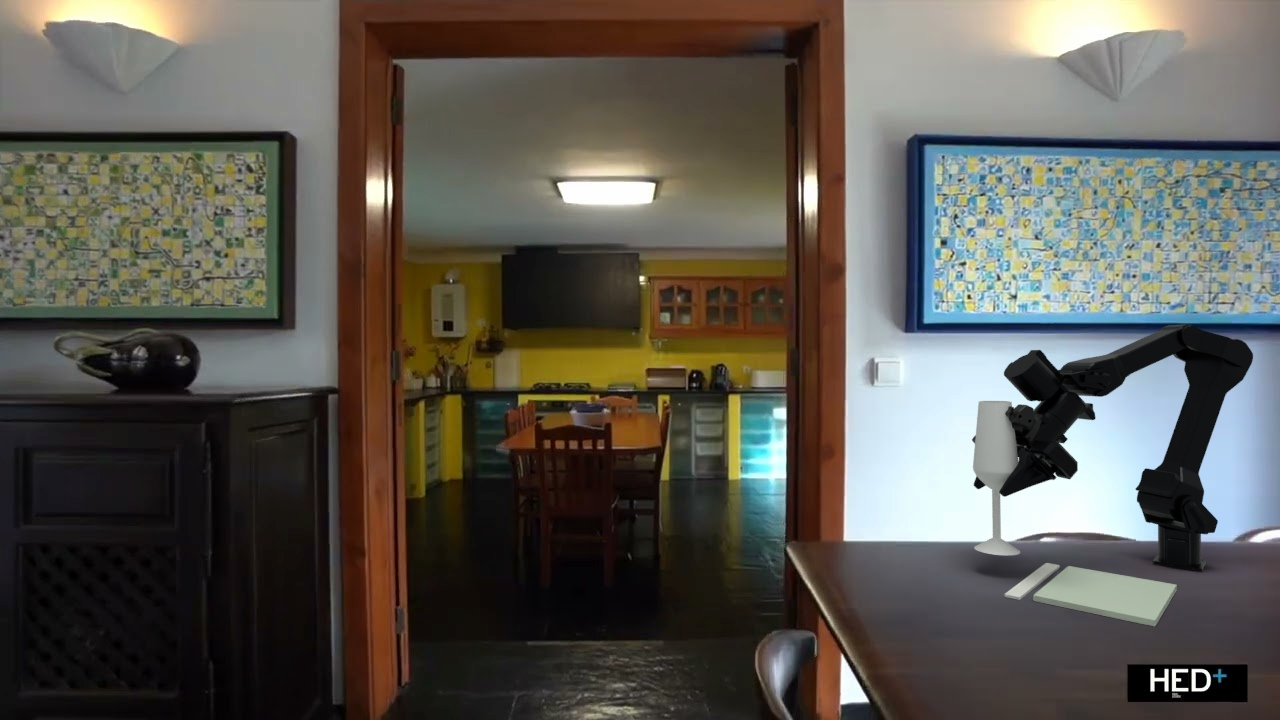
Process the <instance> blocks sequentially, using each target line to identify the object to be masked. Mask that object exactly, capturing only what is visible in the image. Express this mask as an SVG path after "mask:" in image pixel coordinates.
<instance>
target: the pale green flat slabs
mask: <svg viewBox="0 0 1280 720" xmlns="http://www.w3.org/2000/svg"><path fill="white" fill-rule="evenodd" d="M1060 567H1061V566H1060V564H1055V563H1049V562H1046V563H1044V564H1042V565H1041V566H1040V567H1039V568H1037V569H1036V570H1034V571H1033V572H1032V573H1031V574H1029V575H1028V576H1026V577H1025V578H1024V579H1022V580H1021V581H1020V582H1019V583H1017V584H1016V585H1015V586H1013V587H1012V588H1010V589H1009V590H1008V591H1007V592H1004V596H1003V597H1005V598H1007V599H1014V600H1018V601H1021V600H1022V599H1023V598H1024V597H1025V596H1027V595H1028V594H1029V593H1030V592H1032V591H1033V590H1034V589H1035V588H1037V587H1038V586H1039V585H1040V584H1042V583H1043V582H1044V581H1045V580H1046V579H1048V578H1049V577H1050V576H1052V575H1053V574H1054V573H1055V572H1056V571H1058V570H1059V569H1060ZM1177 588H1178V585H1177V584H1174V583H1169V582H1163V581H1157V580H1153V579H1146V578H1141V577H1140V578H1139V577H1135V576H1130V575H1129V576H1128V575H1123V574H1117V573H1113V572H1112V573H1111V572H1105V571H1099V570H1094V569H1088V568H1085V567H1084V568H1083V567H1076V566H1072V565H1068V566H1066V567H1065V568H1064V569H1063V570H1062V571H1060V572H1059V573H1058V574H1057V575H1056V576H1054V577H1053V578H1052V579H1051V580H1049V582H1047V583H1046V584H1045V585H1044V586H1042V587H1041V588H1040V589H1039V590H1038V591H1036V592H1035V593H1034V594H1033V602H1037V603H1042V604H1047V605H1051V606H1056V607H1060V608H1065V609H1071V610H1073V611H1074V610H1075V611H1080V612H1084V613H1089V614H1095V615H1098V616H1104V617H1108V618H1112V619H1117V620H1121V621H1122V620H1123V621H1127V622H1131V623H1136V624H1140V625H1146V626H1150V627H1154V628H1155V627H1156V626H1157V624H1158V623H1159V621H1160V619H1161V618H1162V616H1163V614H1164V613H1165V610H1166V609H1167V607H1168V606H1169V604H1170V602H1171V600H1172V599H1173V597H1174V596H1175V594H1176V592H1177V591H1178V589H1177Z"/></svg>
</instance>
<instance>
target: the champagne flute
mask: <svg viewBox="0 0 1280 720" xmlns="http://www.w3.org/2000/svg"><path fill="white" fill-rule="evenodd" d="M1009 406H1010V407H1013V404H1012V401H1009V400H1008V401H1007V400H979V401H978V405H977V417H976V428H975V435H976V438H975V443H974V451H973V460H972V461H973V462H972V463H973V464H972V469H973V472H974V474H975V476H977V477H978V478H979V479H980V480H981V481H982V482H983V483H984V484H985V485H986V486H985V487H987V488H989V489H991V497H992V498H991V501H992V502H991V506H992V510H991V511H992V518H991V519H992V537H991V538H989V539H987V540H985V541H983V542H981V543H979V544H977V545H975V546H974V550H975V551H978V552H980V553H984V554H989V555H995V556H1017V555H1020V554H1021V551H1020V550H1019V549H1018V548H1016V547H1015V546H1013V545H1011V544H1010V543H1009V542H1007V541H1006V540H1005V539H1003V538H1002V528H1001V522H1002V521H1001V494H1000V493H999V491H1000V489H1001V488H1002V486H1003V484H1004V483H1005V482H1006V480H1007V479H1008V477H1009V476H1010V475H1011V473H1012V472H1013V471H1014V469H1015V468H1016V466H1017V465H1018V463H1019V457H1018V453H1017V445H1016V436H1015V429H1013V428H1012V424H1011V422H1010V420H1009V417H1007V416H1006V415H1005V412H1006V411H1007V410H1008V408H1009Z"/></svg>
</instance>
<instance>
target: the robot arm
mask: <svg viewBox="0 0 1280 720" xmlns="http://www.w3.org/2000/svg"><path fill="white" fill-rule="evenodd" d="M1170 356H1174V358H1176V359H1178V360H1180V361H1182V362H1184V369H1183V371H1184V373H1185V376H1186V379H1187V382H1188V389H1187V392H1186V395H1185V397H1184V399H1183V404H1182V406H1181V409H1180V411H1179V413H1178V414H1179V415H1178V418H1177V421H1176V423H1175V426H1174V429H1173V432H1172V434H1171V438H1170V440H1169V442H1168V446H1167V449H1166V451H1165V454H1164V457H1163V460H1162V462H1161V464H1159V465H1158V466H1157V467H1156V468H1154V469H1152V468H1144V469H1143V471H1142V472H1141V477H1140V481H1139V484H1138V485H1137V487H1136V488H1135V491H1138V492H1137V496H1136V502H1137V503H1138V504H1139V507H1140V510H1141V511H1142V515H1143V518H1144V521H1145V522H1146V523H1149V524H1153V525H1157V555H1156V556H1155V557H1154V558H1153V560H1152V563H1153V564H1155V565H1159V566H1160V565H1161V566H1166V567H1172V568H1178V569H1179V568H1180V569H1185V570H1192V571H1197V572H1203V571H1204V569H1205V566H1206V565H1207V561H1206V560H1204V559H1202V535H1209V534H1214V533H1215V532H1216V529H1217V526H1218V523H1219V521H1218V518H1216V517H1215V516H1214V515H1213V513H1212V512H1211V511H1210V510H1209V509H1208V508H1207V507H1206V506H1205V505H1204V504H1203V501H1204V495H1205V490H1204V486H1203V483H1202V481H1201V477H1200V470H1201V466H1202V464H1203V461H1204V458H1205V456H1206V452H1207V449H1208V446H1209V443H1210V442H1211V441H1210V440H1211V438H1212V435H1213V432H1214V430H1215V426H1216V424H1217V422H1218V417H1219V415H1220V412H1221V409H1222V406H1223V404H1224V400H1225V398H1226V395H1227V393H1228V392H1231V390H1232V389H1233V388H1235V387H1236V386H1237V385H1239V384H1240V383H1241V382H1242V381H1243V380H1244V378H1245V377H1246V375H1247V373H1248V372H1249V370H1250V368H1251V366H1252V363H1253V360H1254V353H1253V351H1252V349H1251V348H1250V346H1248V344H1247V342H1245V341H1244V340H1243V339H1242V340H1241V339H1238V338H1233V339H1232V338H1230V337H1228V336H1225V335H1221V334H1217V333H1214V332H1209V331H1207V330H1203V329H1201V328H1199V327H1197V326H1194V325H1191V324H1176V325H1175V324H1172V325H1165V326H1164V327H1161V328H1160V329H1158V331H1156V332H1153V333H1151V334H1149V335H1147V336H1145V337H1143V338H1140V339H1138V340H1135V341H1133V342H1130V343H1129V344H1126V345H1125V346H1122V347H1120V348H1118V349H1115V350H1113V351H1111V352H1109V353H1107V354H1103V355H1099V356H1092V357H1086V358H1085V357H1084V358H1082V359H1077V360H1073V361H1069V362H1066V363H1065V364H1064V365H1063V366H1062V367H1061V368H1060V369H1058V368H1057V367H1056V366H1055V365H1054V364H1053V363H1052V362H1051V361H1050V360H1049V359H1048V357H1047V356H1046V354H1045V353H1044V352H1043V351H1042V350H1041V349H1031V350H1030V351H1028V352H1027V354H1024V355H1022V356H1020V357H1018V358H1017V359H1015V360H1014V361H1011V362H1010V363H1009V364H1008V365H1007V367H1005V369H1004V371H1003V376H1004V377H1005V379H1007V380H1008V381H1009V382H1010V384H1012V386H1013V387H1014V388H1016V390H1017V391H1018V392H1019V393H1020V394H1021V395H1022V396H1023V397H1024V398H1025V399H1026V400H1027V401H1029V402H1036V401H1037V402H1039V403H1038V404H1037V405H1036V407H1035V408H1033V407H1032V406H1029V405H1027V404H1017V405H1016V406H1012V407H1010V406H1009V408H1008V410H1007V411H1006V412H1005V415H1006V416H1007V417H1009V420H1010V422H1011V424H1012V428H1013V429H1015V436H1016V445H1017V453H1018V462H1019V463H1018V465H1017V466H1016V468H1015V469H1014V471H1013V472H1012V473H1011V475H1010V476H1009V477H1008V479H1007V480H1006V482H1005V483H1004V484H1003V486H1002V488H1001V489H1000V491H999V493H1000V496H1002V497H1005V498H1006V497H1009V496H1011V495H1014V494H1016V493H1018V492H1020V491H1023V490H1025V489H1029V488H1031V487H1033V486H1036V485H1039V484H1042V483H1045V482H1048V481H1055V480H1056V479H1057V478H1063V479H1066V480H1071V479H1072V478H1073V477H1074V476H1075V474H1077V472H1078V470H1079V467H1078V466H1079V465H1078V461H1077V460H1076V459H1075V458H1074V456H1073V455H1072V454H1071V453H1069V451H1067V450H1066V448H1065V447H1064V446H1063V445H1062V444H1065V443H1066V442H1067V441H1068V440H1069V439H1068V438H1067V437H1066V435H1065V434H1066V433H1067V431H1069V429H1070V428H1072V426H1073V425H1074V423H1076V422H1077V420H1078V419H1079V420H1086V421H1095V420H1096V413H1095V411H1094V404H1093V402H1092V403H1090V402H1085V400H1083V399H1082V397H1105V396H1108V395H1109V394H1111V393H1113V392H1114V391H1115V390H1117V389H1118V388H1120V387H1121V386H1122V385H1123V384H1124V382H1125V381H1126V378H1128V377H1129V376H1130V375H1131V374H1134V373H1136V372H1138V371H1141V370H1143V369H1145V368H1146V367H1148V366H1151V365H1153V364H1156V363H1158V362H1160V361H1162V360H1164V359H1167V358H1169V357H1170ZM1080 396H1081V397H1080ZM975 438H976V434H975V435H974V436H973V438H971V440H972V442H973V444H975ZM975 476H976V475H975ZM973 487H974V488H975V489H977V490H981V489H982V488H984V487H987V486H986V485H985V484H984V483H983V482H982V481H981V480H980V479H979V478H978V477H977V476H976V477H975V479H974V482H973Z"/></svg>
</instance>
